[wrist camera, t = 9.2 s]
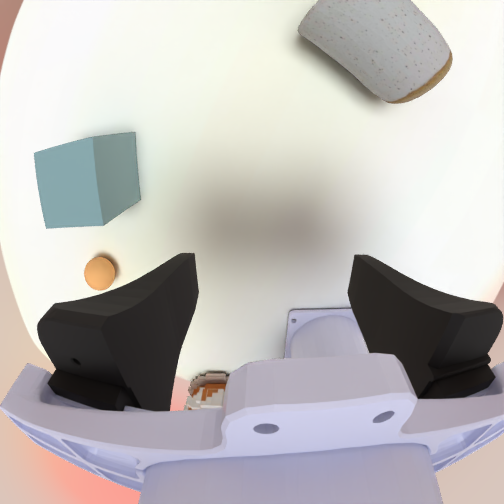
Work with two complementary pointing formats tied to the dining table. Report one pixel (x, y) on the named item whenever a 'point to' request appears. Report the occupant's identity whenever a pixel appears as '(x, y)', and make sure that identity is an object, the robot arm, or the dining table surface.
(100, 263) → the orange ball
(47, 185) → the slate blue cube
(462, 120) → the dining table surface
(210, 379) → the caramel apple
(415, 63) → the ceramic mug
